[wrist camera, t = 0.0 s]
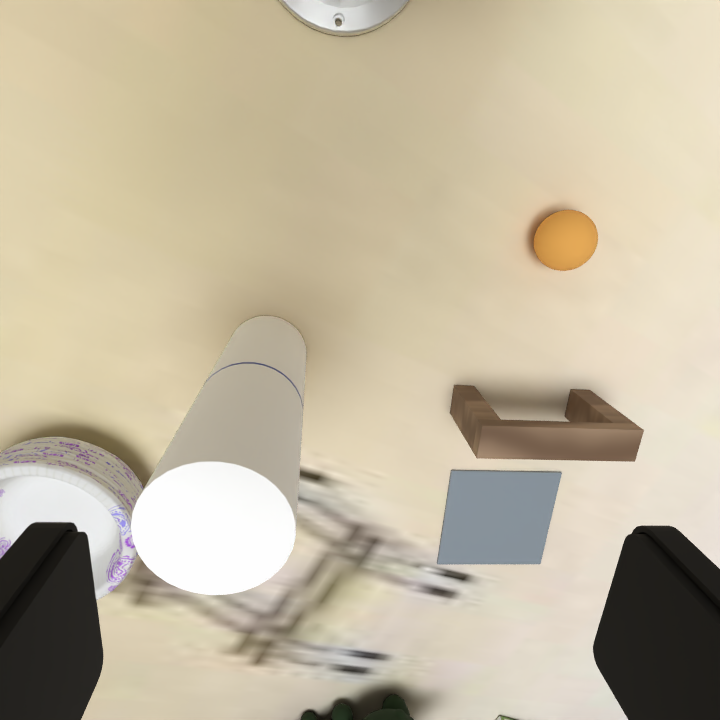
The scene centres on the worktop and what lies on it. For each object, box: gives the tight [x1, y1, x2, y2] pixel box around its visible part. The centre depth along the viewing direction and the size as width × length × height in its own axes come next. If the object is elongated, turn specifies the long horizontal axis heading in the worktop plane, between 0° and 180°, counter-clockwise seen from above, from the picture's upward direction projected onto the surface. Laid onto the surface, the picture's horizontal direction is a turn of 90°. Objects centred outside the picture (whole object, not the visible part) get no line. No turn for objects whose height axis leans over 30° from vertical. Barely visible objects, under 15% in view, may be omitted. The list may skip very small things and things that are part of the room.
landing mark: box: [437, 470, 562, 564], centre depth 54 cm, size 12×12×1 cm
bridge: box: [450, 385, 644, 461], centre depth 45 cm, size 3×14×9 cm, turn 86°
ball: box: [534, 210, 598, 271], centre depth 42 cm, size 5×5×5 cm
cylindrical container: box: [131, 316, 306, 595], centre depth 34 cm, size 7×7×25 cm
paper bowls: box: [0, 437, 144, 600], centre depth 45 cm, size 15×15×8 cm
